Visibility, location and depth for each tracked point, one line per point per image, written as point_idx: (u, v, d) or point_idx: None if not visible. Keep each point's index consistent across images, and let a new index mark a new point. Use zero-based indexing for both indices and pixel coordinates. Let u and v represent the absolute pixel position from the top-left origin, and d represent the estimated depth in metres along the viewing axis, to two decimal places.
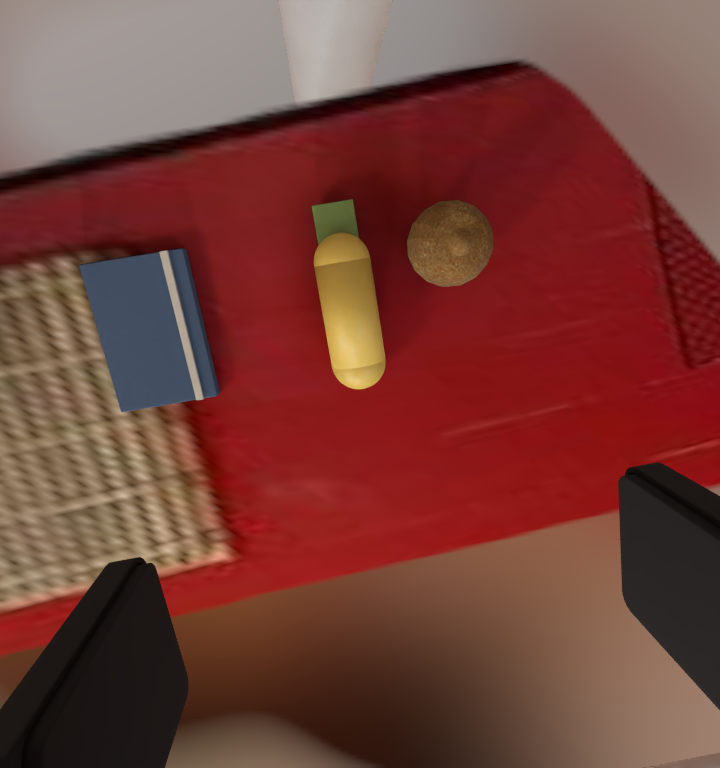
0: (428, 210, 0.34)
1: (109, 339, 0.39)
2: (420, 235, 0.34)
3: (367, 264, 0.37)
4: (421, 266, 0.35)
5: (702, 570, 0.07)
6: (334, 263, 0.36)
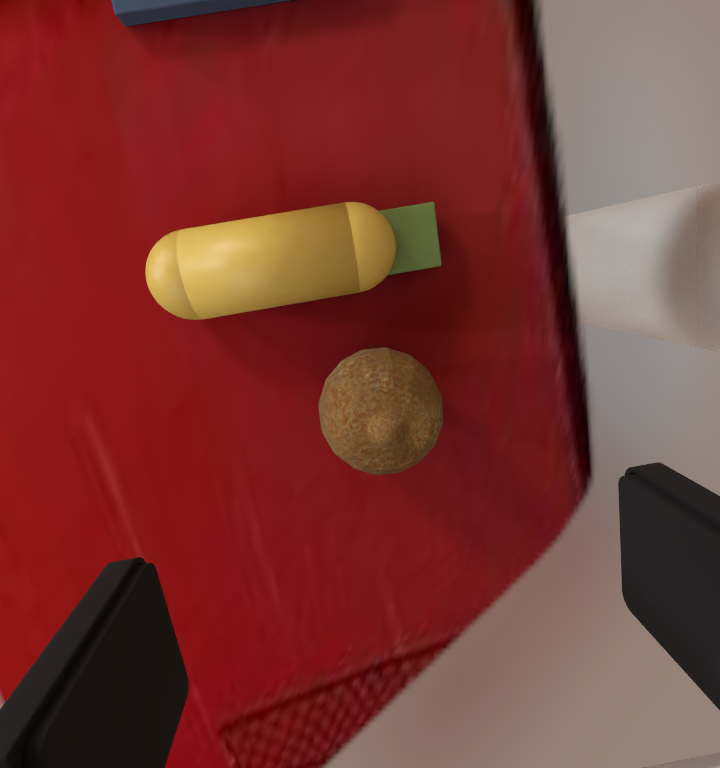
0: (430, 377, 0.23)
1: None
2: (395, 366, 0.22)
3: (349, 287, 0.24)
4: (349, 370, 0.22)
5: (702, 570, 0.07)
6: (351, 231, 0.22)
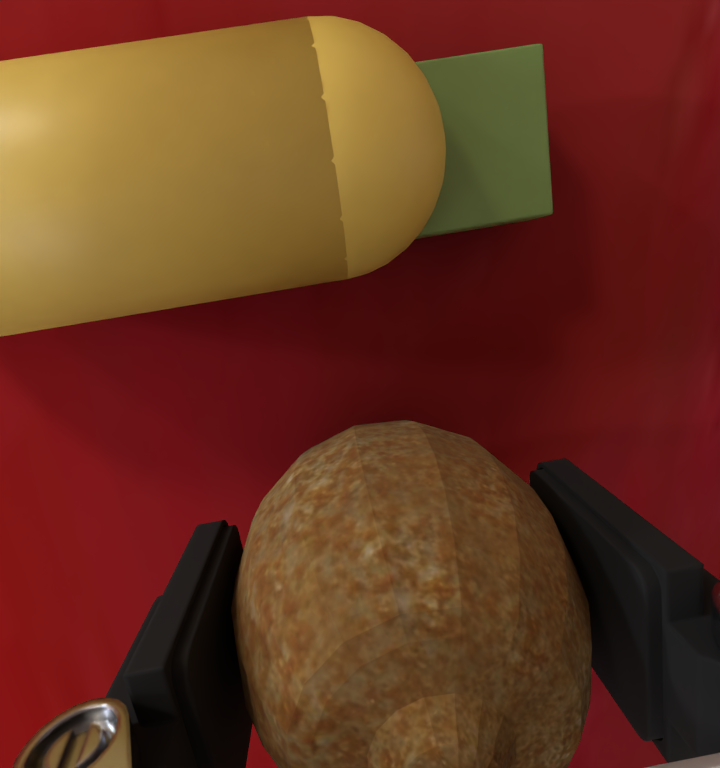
0: (552, 524, 0.08)
1: None
2: (461, 513, 0.07)
3: (319, 261, 0.08)
4: (313, 517, 0.07)
5: (584, 555, 0.08)
6: (319, 80, 0.07)
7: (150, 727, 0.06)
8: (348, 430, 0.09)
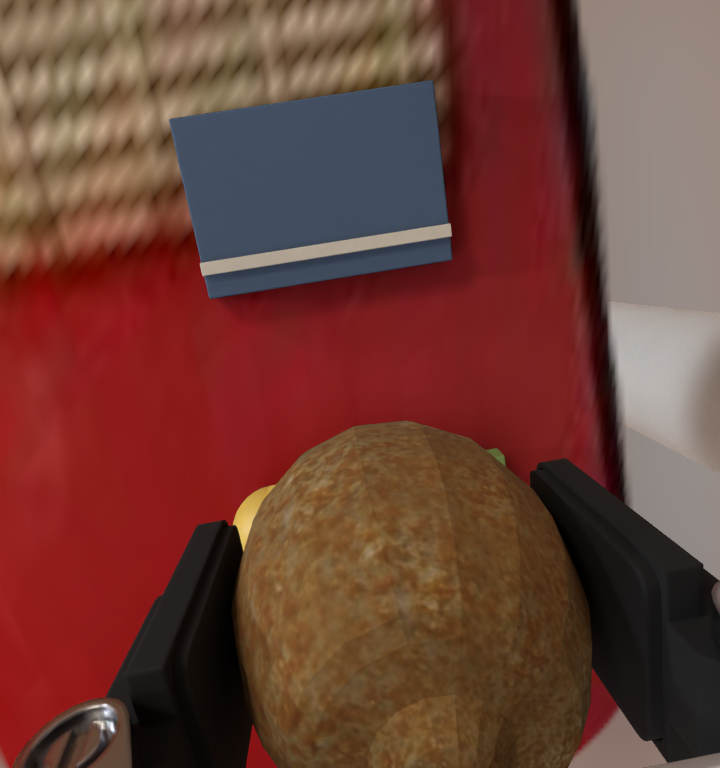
0: (552, 525, 0.08)
1: (305, 116, 0.22)
2: (461, 515, 0.07)
3: None
4: (313, 518, 0.07)
5: (583, 554, 0.08)
6: None
7: (150, 727, 0.06)
8: (348, 431, 0.09)
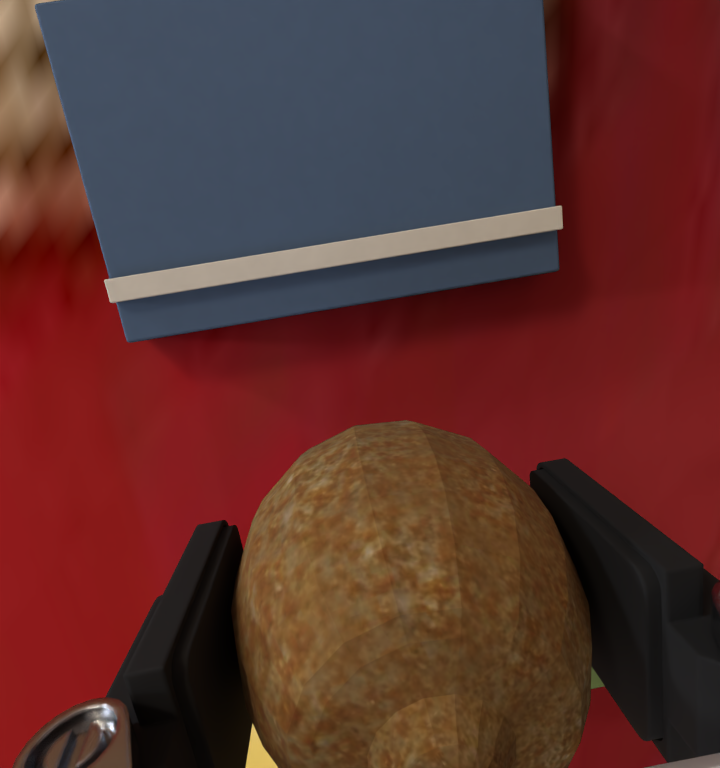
0: (552, 525, 0.08)
1: (296, 1, 0.12)
2: (460, 514, 0.07)
3: None
4: (312, 518, 0.07)
5: (584, 555, 0.08)
6: None
7: (150, 727, 0.06)
8: (348, 430, 0.09)
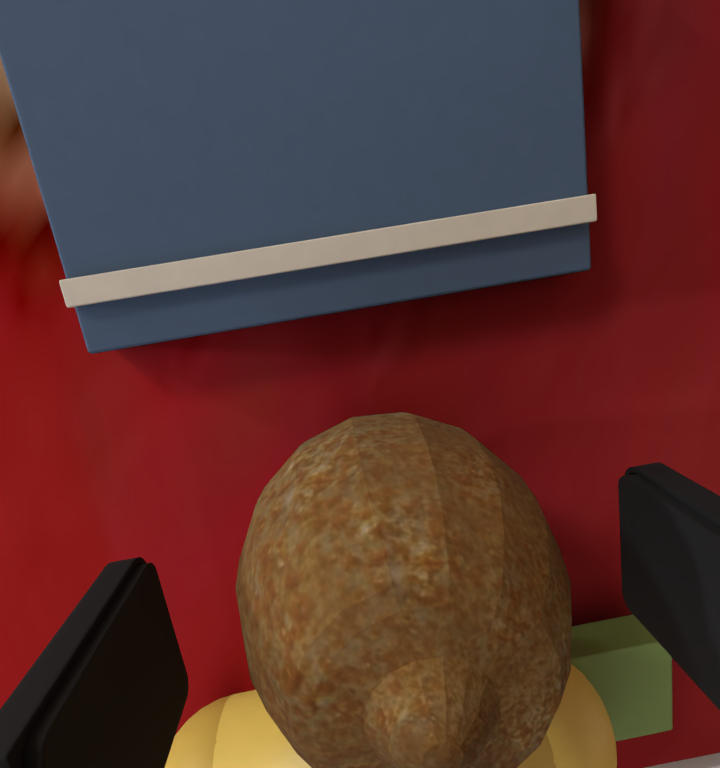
0: (537, 507, 0.08)
1: None
2: (450, 494, 0.07)
3: None
4: (313, 500, 0.08)
5: (702, 570, 0.07)
6: None
7: None
8: (346, 421, 0.10)
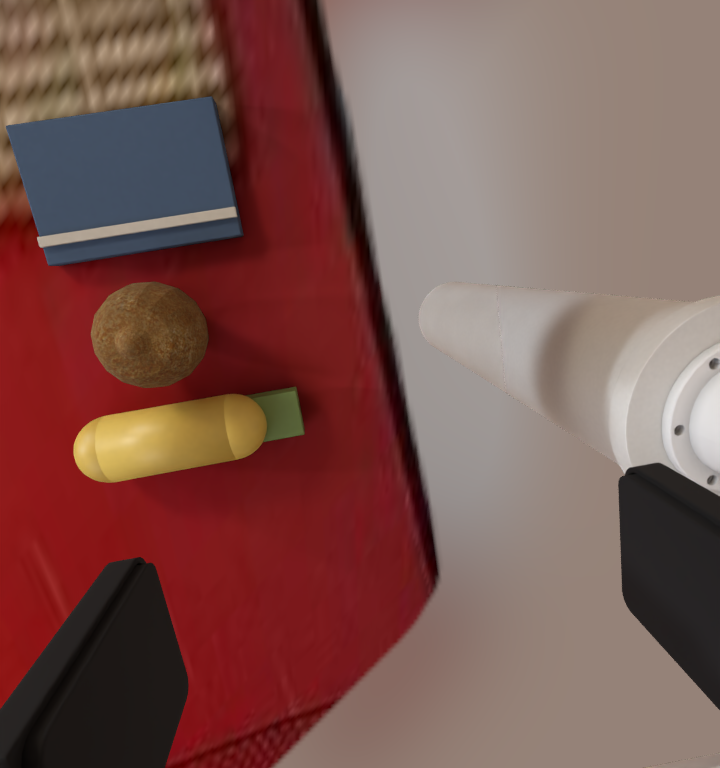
0: (184, 304, 0.27)
1: (113, 124, 0.29)
2: (145, 292, 0.26)
3: (229, 459, 0.32)
4: (110, 296, 0.27)
5: (702, 570, 0.07)
6: (225, 427, 0.30)
7: None
8: None
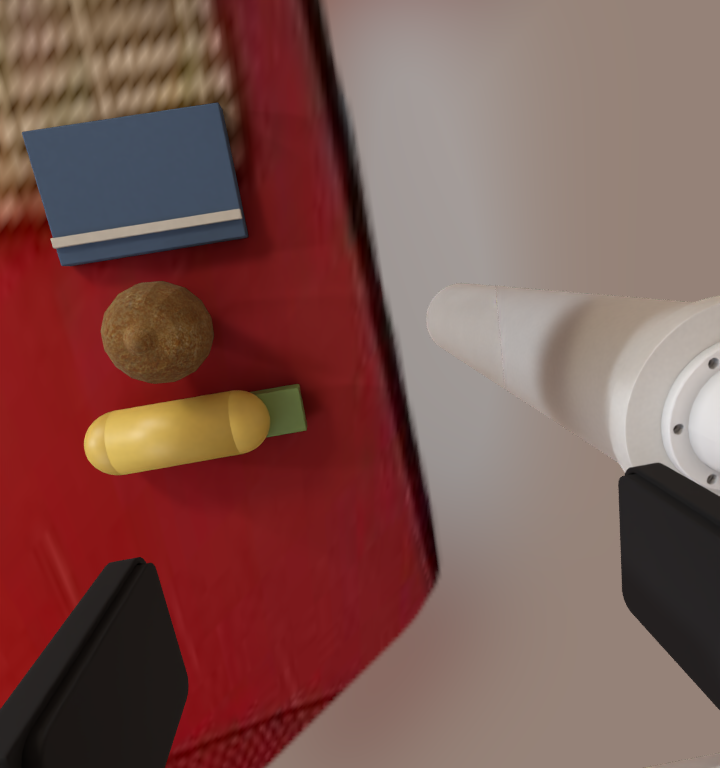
0: (190, 302, 0.28)
1: (123, 129, 0.30)
2: (153, 291, 0.27)
3: (233, 454, 0.33)
4: (119, 295, 0.28)
5: (702, 570, 0.07)
6: (229, 422, 0.31)
7: None
8: None
